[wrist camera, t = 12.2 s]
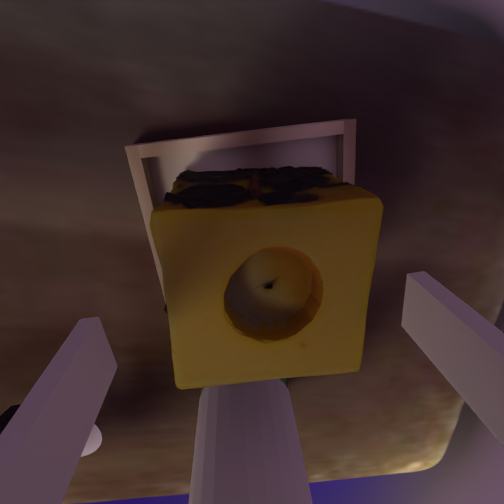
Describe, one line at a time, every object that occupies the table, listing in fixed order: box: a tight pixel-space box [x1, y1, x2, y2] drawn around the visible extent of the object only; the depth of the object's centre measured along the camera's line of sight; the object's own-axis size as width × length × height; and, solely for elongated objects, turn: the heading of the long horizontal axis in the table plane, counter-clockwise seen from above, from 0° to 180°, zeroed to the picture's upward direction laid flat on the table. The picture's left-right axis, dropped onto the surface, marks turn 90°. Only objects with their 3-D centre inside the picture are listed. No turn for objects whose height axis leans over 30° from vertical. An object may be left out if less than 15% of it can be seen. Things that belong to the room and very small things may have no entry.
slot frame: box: [125, 119, 356, 302], centre depth 23 cm, size 15×15×2 cm
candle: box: [150, 166, 384, 390], centre depth 19 cm, size 10×10×10 cm
